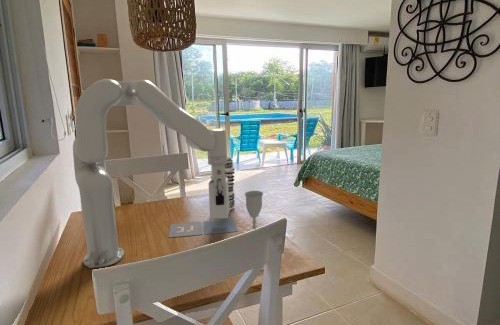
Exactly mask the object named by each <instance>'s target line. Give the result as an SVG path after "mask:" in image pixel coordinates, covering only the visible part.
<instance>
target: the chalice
mask: <svg viewBox="0 0 500 325" xmlns="http://www.w3.org/2000/svg"><path fill="white" fill-rule="evenodd" d="M263 195H264V192H263V191H260V190H250V191H249V190H248V191H245V193H244V196H245V207H246V210H247V212H248V215H249V216H250V218H252V226H251V227H252V230H253V229H255V230H257V229H256V228H257V224H256V223H257V221H256V220H257V219H256V218H257V217H258V216H259V214H261V209H262V207H263Z"/></svg>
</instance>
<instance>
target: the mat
mask: <svg viewBox="0 0 500 325" xmlns="http://www.w3.org/2000/svg"><path fill="white" fill-rule="evenodd" d="M203 227H204V228H203V229H204V235H216V234H225V233H226V234H227V233H237V232H238V229H237V226H236V222H235V219H234V218H229V219H228V218H225V219H218V220H215V219H213V220H204V221H203Z"/></svg>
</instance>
